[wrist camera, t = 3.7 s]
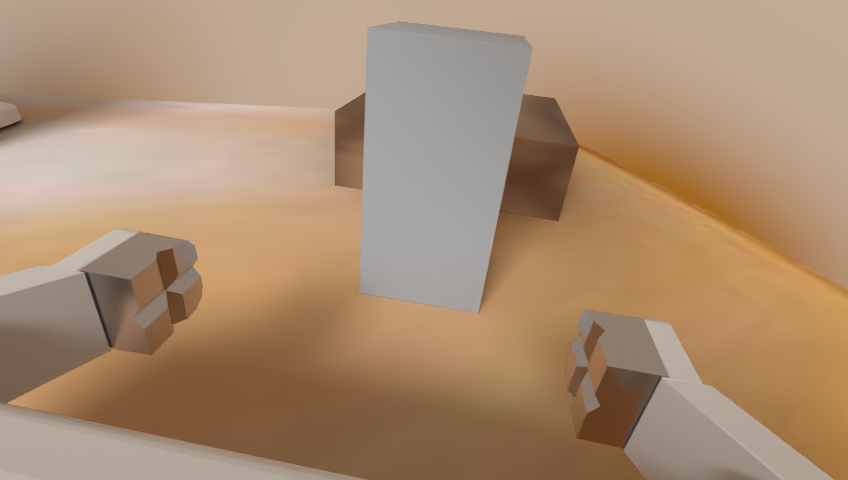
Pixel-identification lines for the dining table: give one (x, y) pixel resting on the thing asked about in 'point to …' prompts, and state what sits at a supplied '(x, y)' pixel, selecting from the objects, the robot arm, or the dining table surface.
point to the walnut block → (528, 167)
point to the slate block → (436, 158)
